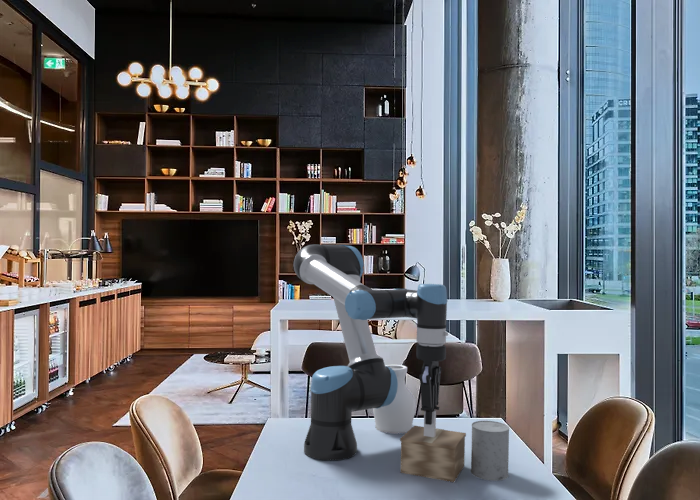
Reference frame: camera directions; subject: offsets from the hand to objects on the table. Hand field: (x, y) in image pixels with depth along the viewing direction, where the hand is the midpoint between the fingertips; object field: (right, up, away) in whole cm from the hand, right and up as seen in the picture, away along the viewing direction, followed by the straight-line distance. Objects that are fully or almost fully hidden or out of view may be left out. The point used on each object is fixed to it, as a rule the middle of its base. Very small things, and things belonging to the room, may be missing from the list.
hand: (429, 435), depth 143 cm
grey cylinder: (+16, -11, +2) cm, 19 cm away
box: (+1, -10, +4) cm, 11 cm away
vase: (-6, -11, +39) cm, 40 cm away
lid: (+2, -2, +4) cm, 5 cm away
